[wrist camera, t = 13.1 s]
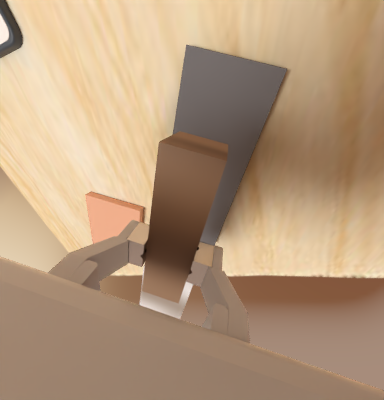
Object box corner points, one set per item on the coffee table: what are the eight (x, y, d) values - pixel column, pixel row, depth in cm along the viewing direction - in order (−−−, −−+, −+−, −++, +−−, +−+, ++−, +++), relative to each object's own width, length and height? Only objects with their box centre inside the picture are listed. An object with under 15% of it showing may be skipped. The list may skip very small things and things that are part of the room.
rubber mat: (188, 47, 16) (186, 44, 15) (284, 70, 15) (287, 69, 14) (160, 224, 27) (158, 228, 26) (214, 241, 27) (214, 245, 26)
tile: (85, 194, 26) (93, 244, 32) (139, 211, 25) (137, 258, 31) (92, 190, 27) (98, 238, 33) (144, 205, 27) (141, 252, 32)
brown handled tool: (167, 127, 9) (141, 136, 6) (241, 148, 9) (245, 166, 6) (144, 293, 17) (129, 327, 15) (182, 306, 17) (173, 342, 14)
